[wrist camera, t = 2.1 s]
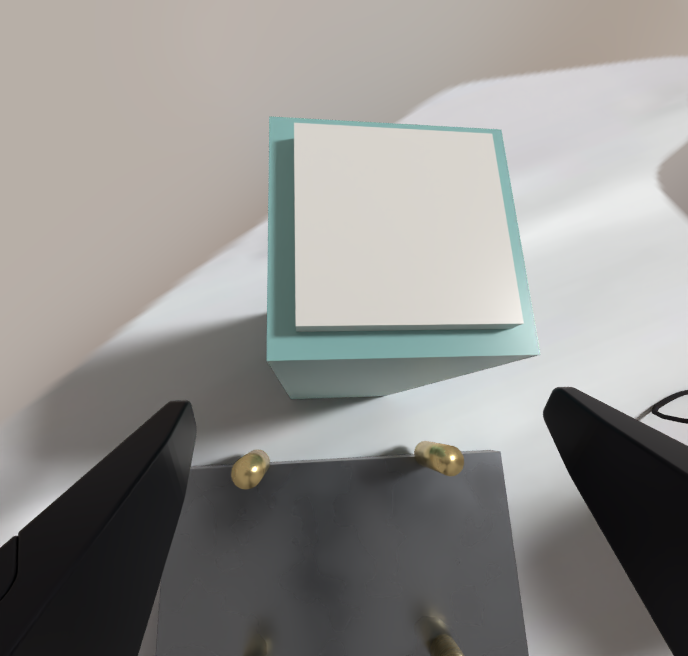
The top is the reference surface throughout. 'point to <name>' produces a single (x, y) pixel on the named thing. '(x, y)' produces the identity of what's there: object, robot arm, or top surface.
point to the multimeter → (667, 400)
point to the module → (391, 257)
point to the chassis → (344, 559)
